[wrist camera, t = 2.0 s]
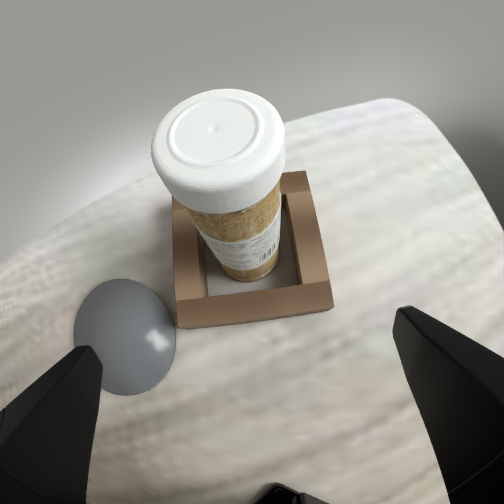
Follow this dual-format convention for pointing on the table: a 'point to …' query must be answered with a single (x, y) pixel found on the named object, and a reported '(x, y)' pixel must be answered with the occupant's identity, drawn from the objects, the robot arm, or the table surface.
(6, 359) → the table surface
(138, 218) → the table surface
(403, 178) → the table surface
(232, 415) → the table surface
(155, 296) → the coaster
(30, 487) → the robot arm
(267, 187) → the sprinkles bottle
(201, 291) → the square wooden frame
